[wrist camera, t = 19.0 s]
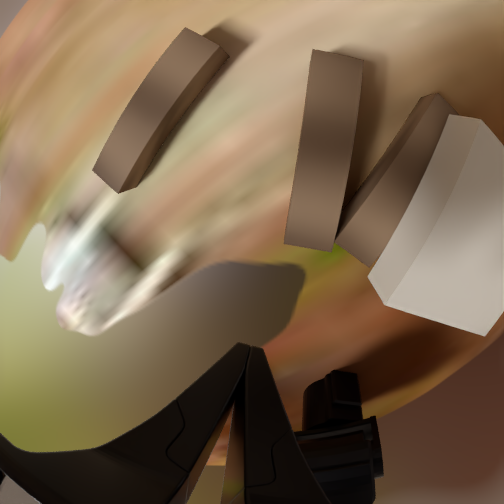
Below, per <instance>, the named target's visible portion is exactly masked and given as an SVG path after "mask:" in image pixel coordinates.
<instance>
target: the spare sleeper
mask: <svg viewBox="0 0 504 504" xmlns="http://www.w3.org/2000/svg"><path fill="white" fill-rule="evenodd" d="M228 58H229V56H228V55H227V54H226V52H225V51H224V50H223V49H222V48H221V47H220V46H219V45H217V44H216V43H214V42H212V41H210V40H208V39H207V38H205V37H203V36H201V35H199V34H197V33H196V32H194V31H192V30H190V29H188V28H186V27H185V28H184V29H183V30H182V31H181V33H180V34H179V35H178V36H177V37H176V38H175V40H174V41H173V42H172V43H171V44H170V46H169V47H168V48H167V49H166V51H165V52H164V53H163V55H162V56H161V57H160V58H159V60H158V61H157V62H156V64H155V65H154V66H153V68H152V69H151V71H150V72H149V73H148V75H147V76H146V78H145V79H144V81H143V82H142V83H141V85H140V86H139V88H138V89H137V91H136V92H135V94H134V96H133V97H132V99H131V100H130V102H129V103H128V105H127V107H126V108H125V110H124V112H123V113H122V115H121V117H120V118H119V120H118V122H117V123H116V125H115V127H114V129H113V131H112V132H111V134H110V136H109V138H108V140H107V142H106V143H105V145H104V147H103V149H102V151H101V153H100V155H99V157H98V159H97V161H96V163H95V166H94V168H93V170H92V171H93V172H95V173H96V174H97V175H98V176H99V177H100V178H101V179H102V180H103V181H104V182H106V183H107V184H108V185H109V186H110V187H111V188H112V189H113V190H114V191H115V192H117V193H118V194H119V193H121V192H124V191H127V190H130V189H133V188H136V187H137V185H138V183H139V181H140V180H141V178H142V176H143V175H144V173H145V171H146V170H147V168H148V166H149V165H150V163H151V162H152V160H153V158H154V157H155V155H156V154H157V152H158V151H159V149H160V148H161V146H162V144H163V143H164V141H165V140H166V138H167V137H168V136H169V134H170V133H171V131H172V130H173V128H174V127H175V125H176V124H177V123H178V121H179V120H180V118H181V117H182V116H183V114H184V113H185V112H186V110H187V109H188V107H189V106H190V105H191V103H192V102H193V101H194V100H195V98H196V97H197V96H198V94H199V93H200V92H201V91H202V89H203V88H204V87H205V86H206V84H207V83H208V82H209V81H210V79H211V78H212V77H213V76H214V75H215V73H216V72H217V71H218V70H219V69H220V67H221V66H222V65H223V64H224V63H225V62H226V61H227V59H228Z"/></svg>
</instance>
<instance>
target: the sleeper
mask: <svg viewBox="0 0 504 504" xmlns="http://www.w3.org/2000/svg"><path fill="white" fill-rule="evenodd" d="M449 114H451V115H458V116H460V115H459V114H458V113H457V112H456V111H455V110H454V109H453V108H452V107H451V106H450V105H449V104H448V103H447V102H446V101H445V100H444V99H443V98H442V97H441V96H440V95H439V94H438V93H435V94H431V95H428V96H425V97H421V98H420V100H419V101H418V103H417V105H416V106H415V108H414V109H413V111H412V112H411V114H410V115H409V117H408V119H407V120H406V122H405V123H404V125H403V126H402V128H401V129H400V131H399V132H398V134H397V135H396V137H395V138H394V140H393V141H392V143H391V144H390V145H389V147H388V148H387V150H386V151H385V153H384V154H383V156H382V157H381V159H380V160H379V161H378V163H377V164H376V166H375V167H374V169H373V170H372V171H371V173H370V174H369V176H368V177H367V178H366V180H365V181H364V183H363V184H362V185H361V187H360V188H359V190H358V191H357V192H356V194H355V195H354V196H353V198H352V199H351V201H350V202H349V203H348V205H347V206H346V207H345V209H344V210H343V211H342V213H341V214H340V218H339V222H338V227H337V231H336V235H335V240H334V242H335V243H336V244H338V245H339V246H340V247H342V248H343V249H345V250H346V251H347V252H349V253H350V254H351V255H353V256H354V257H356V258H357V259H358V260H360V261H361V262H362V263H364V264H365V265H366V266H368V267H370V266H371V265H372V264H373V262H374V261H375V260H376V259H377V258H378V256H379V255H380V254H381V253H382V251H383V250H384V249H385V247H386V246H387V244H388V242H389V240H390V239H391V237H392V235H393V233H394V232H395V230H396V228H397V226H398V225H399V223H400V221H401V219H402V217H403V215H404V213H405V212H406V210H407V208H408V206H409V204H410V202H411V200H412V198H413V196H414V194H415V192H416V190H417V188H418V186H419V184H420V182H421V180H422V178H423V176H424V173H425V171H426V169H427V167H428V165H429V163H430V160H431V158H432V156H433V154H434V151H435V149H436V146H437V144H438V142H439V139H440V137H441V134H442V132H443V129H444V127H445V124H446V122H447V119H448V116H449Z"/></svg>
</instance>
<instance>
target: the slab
mask: <svg viewBox="0 0 504 504" xmlns="http://www.w3.org/2000/svg"><path fill="white" fill-rule="evenodd" d="M368 278H369V280H370V282H371V283H372V285H373V287H374V288H375V290H376V291H377V293H378V295H379V296H380V298H381V300H382V301H383V303H384V305H386V306H389V307H392V308H395V309H399V310H402V311H405V312H408V313H411V314H414V315H418V316H421V317H424V318H427V319H430V320H433V321H437V322H440V323H443V324H446V325H449V326H453V327H456V328H459V329H462V330H466V331H469V332H472V333H475V334H479V335H482V336H485V335H486V334H487V333H488V332H489V330H490V329H491V328H492V326H493V325H494V324H495V322H496V321H497V320H498V318H499V317H500V316H501V314H502V313H503V311H504V146H503V144H502V143H501V142H500V141H499V139H498V138H497V137H496V136H495V135H494V133H493V132H492V131H491V130H490V129H489V128H488V126H487V125H486V124H485V123H484V122H483V121H482V120H481V119H477V118H471V117H465V116H458V115H451V114H449V116H448V119H447V122H446V124H445V127H444V129H443V132H442V134H441V137H440V139H439V142H438V144H437V146H436V149H435V151H434V154H433V156H432V158H431V160H430V163H429V165H428V167H427V169H426V171H425V173H424V176H423V178H422V180H421V182H420V184H419V186H418V188H417V190H416V192H415V194H414V196H413V198H412V200H411V202H410V204H409V206H408V208H407V210H406V212H405V213H404V215H403V217H402V219H401V221H400V223H399V225H398V226H397V228H396V230H395V232H394V233H393V235H392V237H391V239H390V240H389V242H388V244H387V246H386V247H385V249H384V251H383V252H382V254H381V256H380V257H379V259H378V261H377V262H376V264H375V266H374V267H373V269H372V270H371V272H370V274H369V275H368Z"/></svg>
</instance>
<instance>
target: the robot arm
mask: <svg viewBox="0 0 504 504" xmlns="http://www.w3.org/2000/svg"><path fill="white" fill-rule="evenodd" d="M234 401H235V402H234ZM233 404H234V406H233ZM361 405H362V401H361V395H360V388H359V382H358V376H357V374H355V373H349V372H343V371H337V370H333V371H331V373H330V374H327V375H326V376H325V378H323V379H321V380H318V381H316V382H314V383H312V384H311V385H309V386H308V387H307V388H306V390H305V391H304V395H303V417H302V431H297V432H293V430H291V429H292V427H291V424H290V422H289V419H288V416H287V413H286V411H285V408H284V405H283V403H282V400H281V397H280V394H279V392H278V389H277V386H276V383H275V381H274V378H273V375H272V372H271V369H270V367H269V364H268V361H267V358H266V355H265V352H264V350H263V348H260V347H256V346H251V347H250V345H248V344H245V343H241V342H238V343H236V344H235V345H234V346H233V347H232V348H231V349H230V350H229V351H228V352H227V353H226V354H225V355H223V356H222V357H221V358H220V359H219V360H218V361H217V362H216V363H215V364H214V365H213V366H211V367H210V368H209V369H208V370H207V371H206V372H205V373H204V374H203V375H201V376H200V377H199V378H198V379H197V380H196V381H195V382H194V383H192V384H191V385H190V386H189V387H188V388H187V389H186V390H184V391H183V392H182V393H181V394H180V395H179V396H178V397H176V400H173V401H171V402H170V403H169V404H168V405H167V406H166V407H164V408H163V409H162V410H161V411H159V412H158V413H157V414H155V415H154V416H152V417H151V418H149V419H148V420H146V421H145V422H143V423H142V424H140V425H138V426H136V427H135V428H133V429H132V430H129V431H128V432H126V433H124V434H122V435H121V436H119V437H117V438H115V439H113V440H112V441H110V442H108V443H106V444H104V445H101V446H98V447H95V448H91V449H85V450H73V451H60V452H29V451H25V450H22V449H20V448H17V447H16V446H14V445H13V444H12V443H11V442H10V441H8V440H7V439H6V438H5V437H4V436H3V435H2V434H1V433H0V504H186V503H187V501H188V500H189V497H190V496H191V494H192V492H193V490H194V488H195V486H196V483H197V482H198V479H199V477H200V476H201V473H202V471H203V469H204V467H205V465H206V463H207V461H208V459H209V457H210V455H211V453H212V451H213V449H214V446H215V444H216V442H217V440H218V438H219V436H220V433H221V431H222V429H223V427H224V425H225V422H226V420H227V418H228V416H229V414H230V411H231V409H232V406H233V413H232V420H231V428H230V436H229V443H228V451H227V458H226V466H225V473H224V481H223V488H222V496H221V504H373V502H374V500H375V496H376V495H375V480H374V479H376V478H381V477H383V476H384V475H383V474H384V473H383V460H382V451H381V444H380V438H379V432H378V426H377V421H376V416H371V417H370V418H367V419H363V415H362V407H361Z"/></svg>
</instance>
